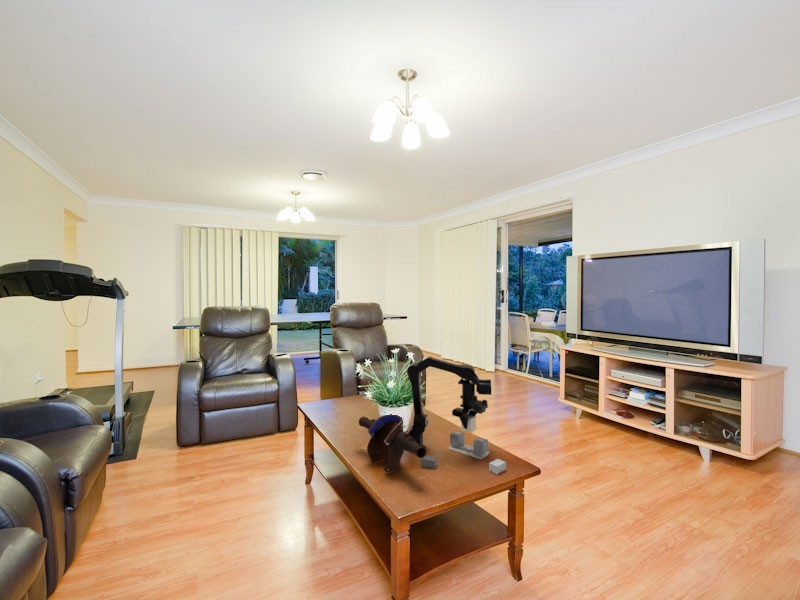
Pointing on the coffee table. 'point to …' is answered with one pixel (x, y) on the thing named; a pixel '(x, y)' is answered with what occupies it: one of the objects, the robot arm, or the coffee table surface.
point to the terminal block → (497, 466)
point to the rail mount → (458, 445)
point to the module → (470, 424)
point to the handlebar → (389, 440)
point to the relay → (429, 462)
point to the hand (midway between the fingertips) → (468, 427)
